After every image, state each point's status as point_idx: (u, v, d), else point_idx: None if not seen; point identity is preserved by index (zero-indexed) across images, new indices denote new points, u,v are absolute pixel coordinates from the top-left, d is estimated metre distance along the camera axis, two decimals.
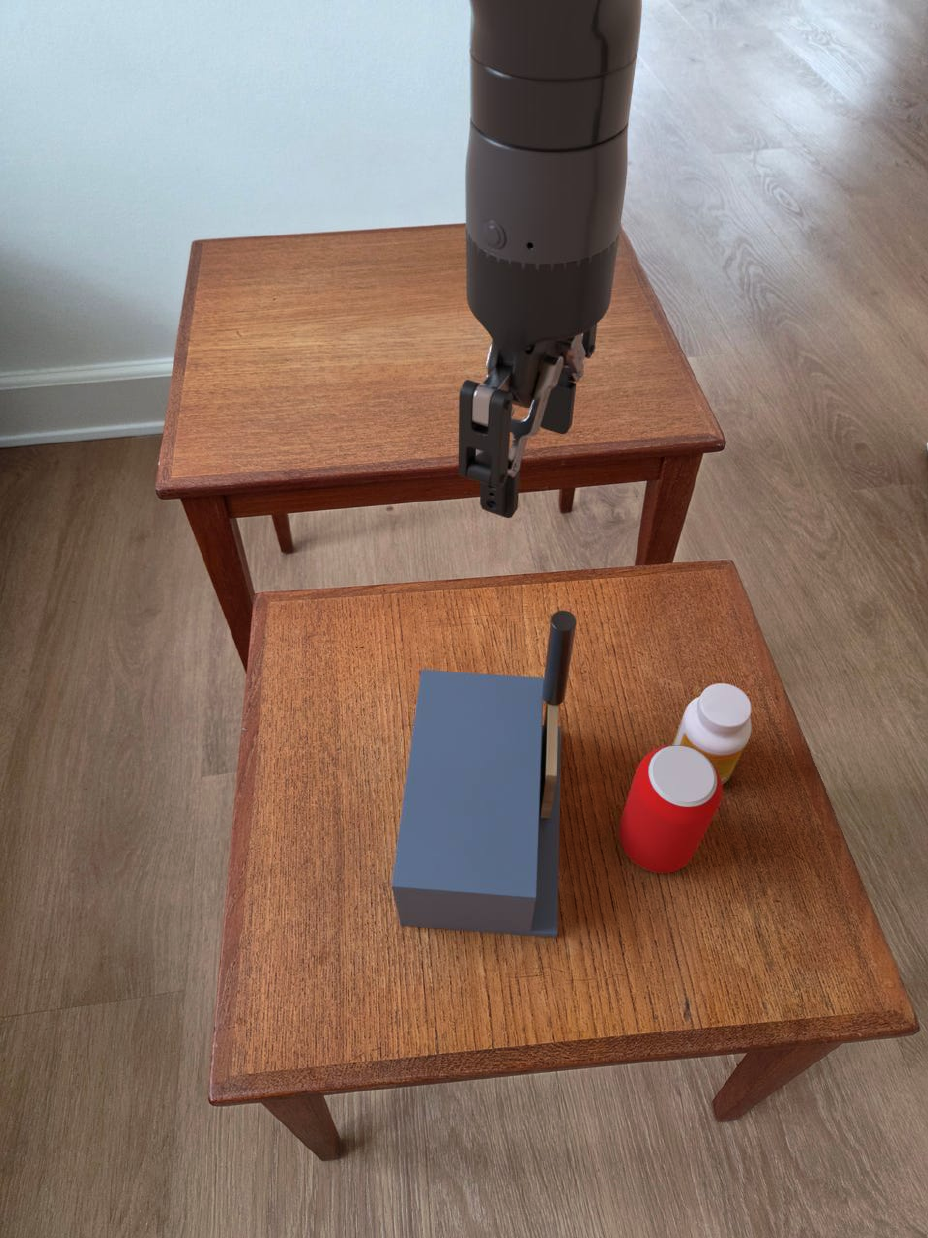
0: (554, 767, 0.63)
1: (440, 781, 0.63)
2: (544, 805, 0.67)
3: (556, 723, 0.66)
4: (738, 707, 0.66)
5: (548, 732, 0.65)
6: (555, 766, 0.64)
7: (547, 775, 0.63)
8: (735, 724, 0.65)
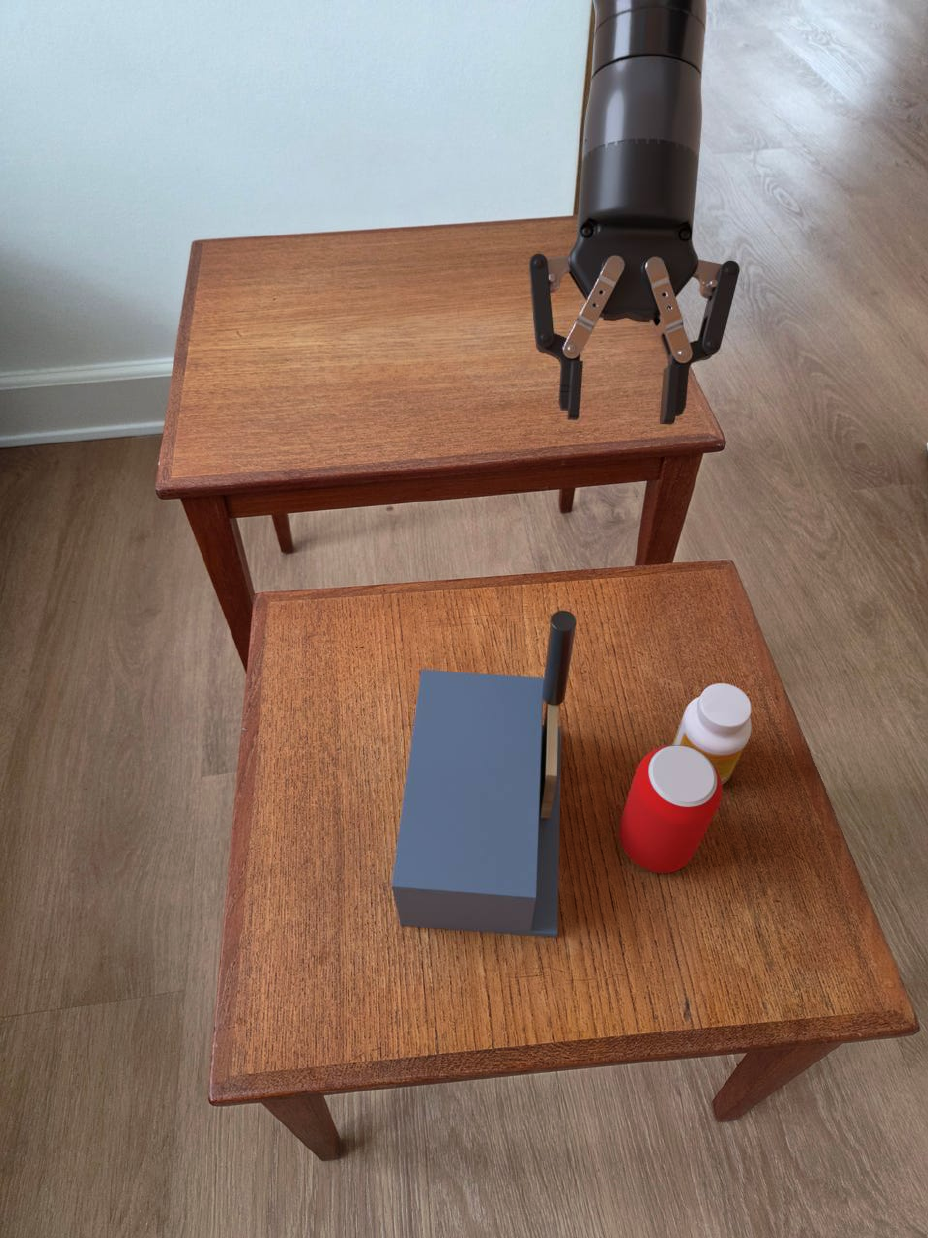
0: (554, 767, 0.63)
1: (440, 781, 0.63)
2: (544, 805, 0.67)
3: (556, 723, 0.66)
4: (738, 707, 0.66)
5: (548, 732, 0.65)
6: (555, 766, 0.64)
7: (547, 775, 0.63)
8: (735, 724, 0.65)
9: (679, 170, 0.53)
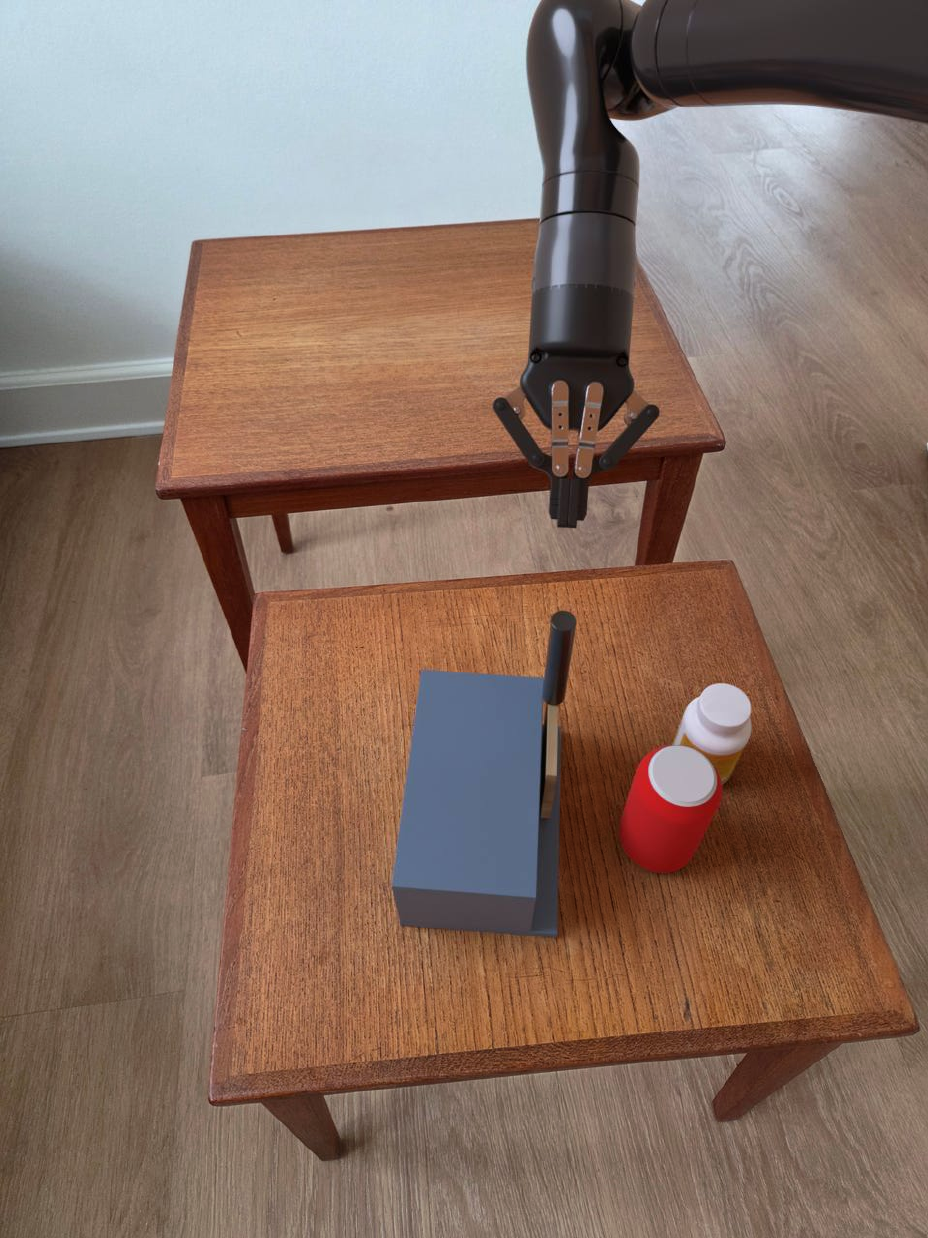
0: (554, 767, 0.63)
1: (440, 781, 0.63)
2: (544, 805, 0.67)
3: (556, 723, 0.66)
4: (738, 707, 0.66)
5: (548, 732, 0.65)
6: (555, 766, 0.64)
7: (547, 775, 0.63)
8: (735, 724, 0.65)
9: (614, 310, 0.60)
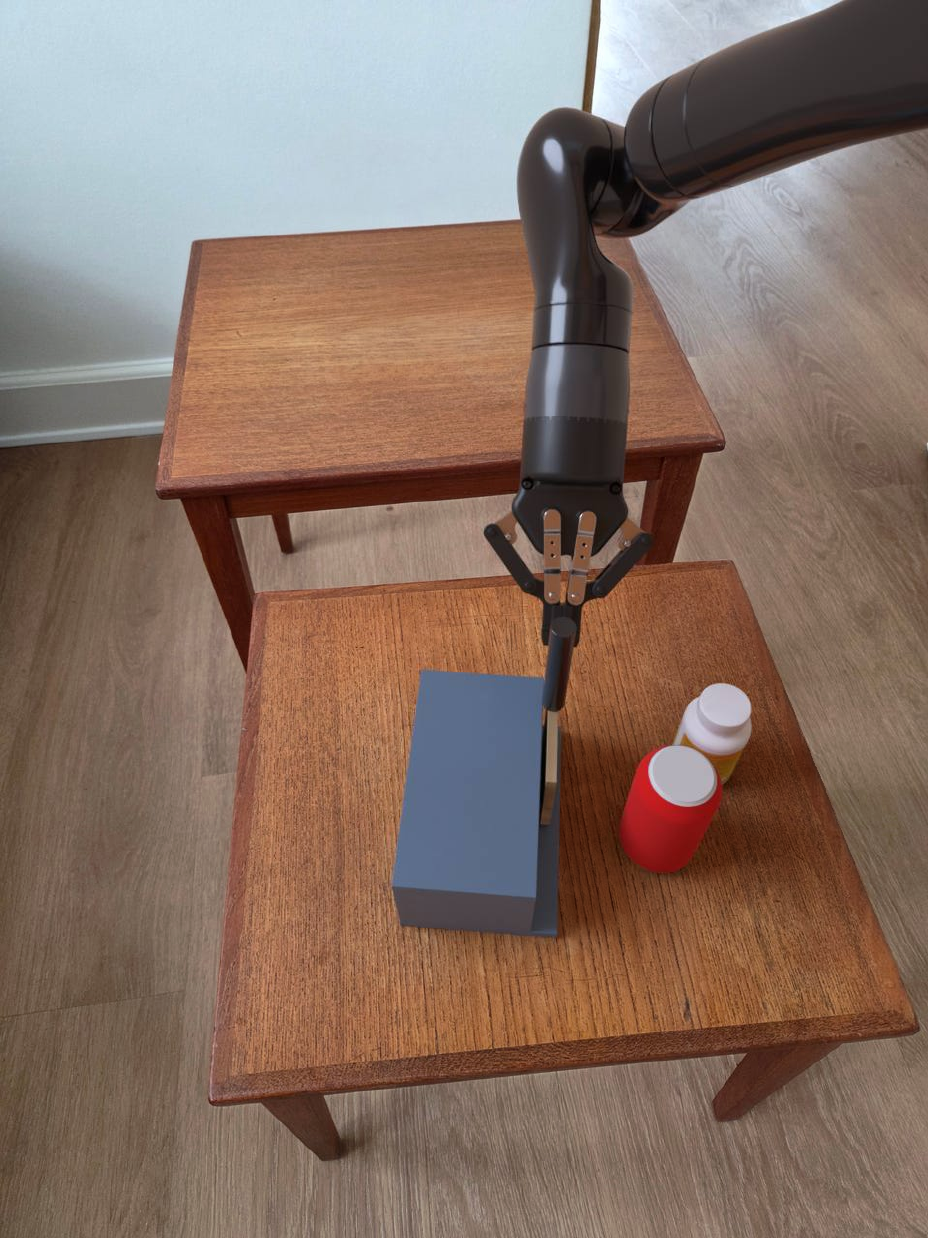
0: (554, 774, 0.63)
1: (440, 781, 0.63)
2: (544, 811, 0.67)
3: (556, 729, 0.65)
4: (738, 707, 0.66)
5: (548, 738, 0.65)
6: (555, 773, 0.63)
7: (547, 782, 0.63)
8: (735, 724, 0.65)
9: (607, 441, 0.59)
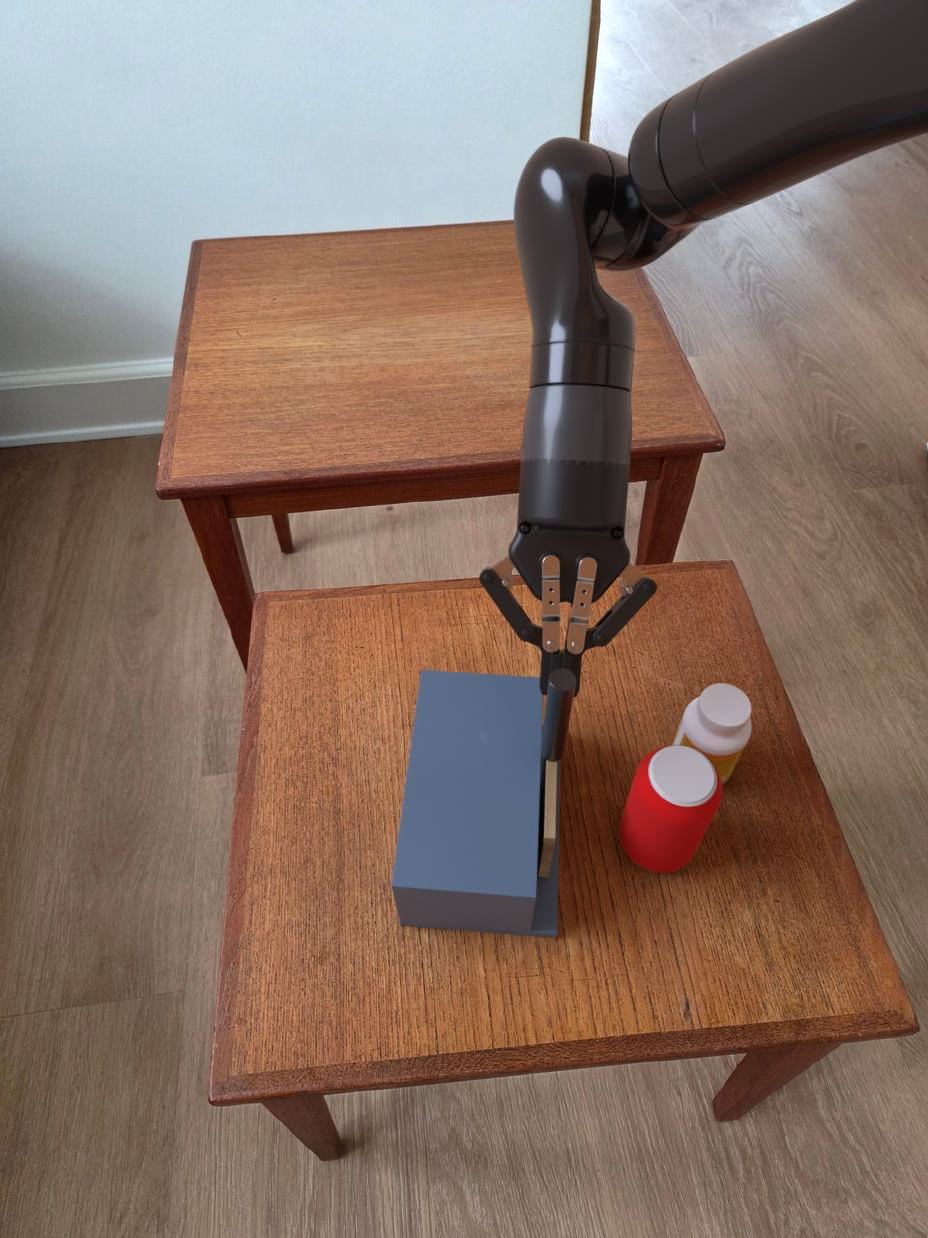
0: (553, 830, 0.61)
1: (440, 781, 0.63)
2: (543, 865, 0.64)
3: (555, 781, 0.63)
4: (738, 707, 0.66)
5: (546, 791, 0.62)
6: (554, 828, 0.61)
7: (545, 838, 0.60)
8: (735, 724, 0.65)
9: (608, 486, 0.56)
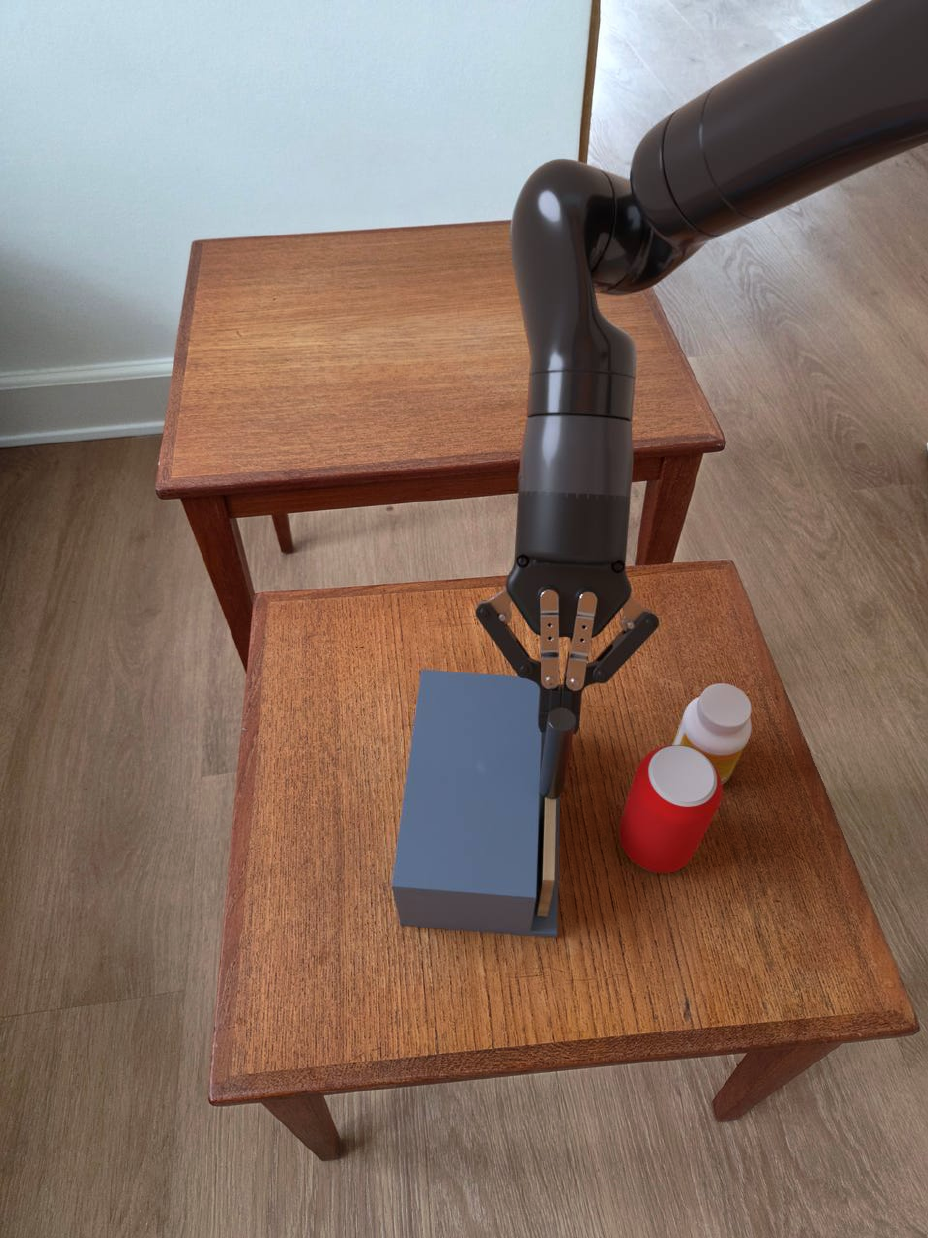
0: (552, 871, 0.59)
1: (440, 781, 0.63)
2: (542, 905, 0.63)
3: (554, 819, 0.61)
4: (738, 707, 0.66)
5: (545, 830, 0.61)
6: (553, 869, 0.59)
7: (544, 880, 0.58)
8: (735, 724, 0.65)
9: (609, 519, 0.54)
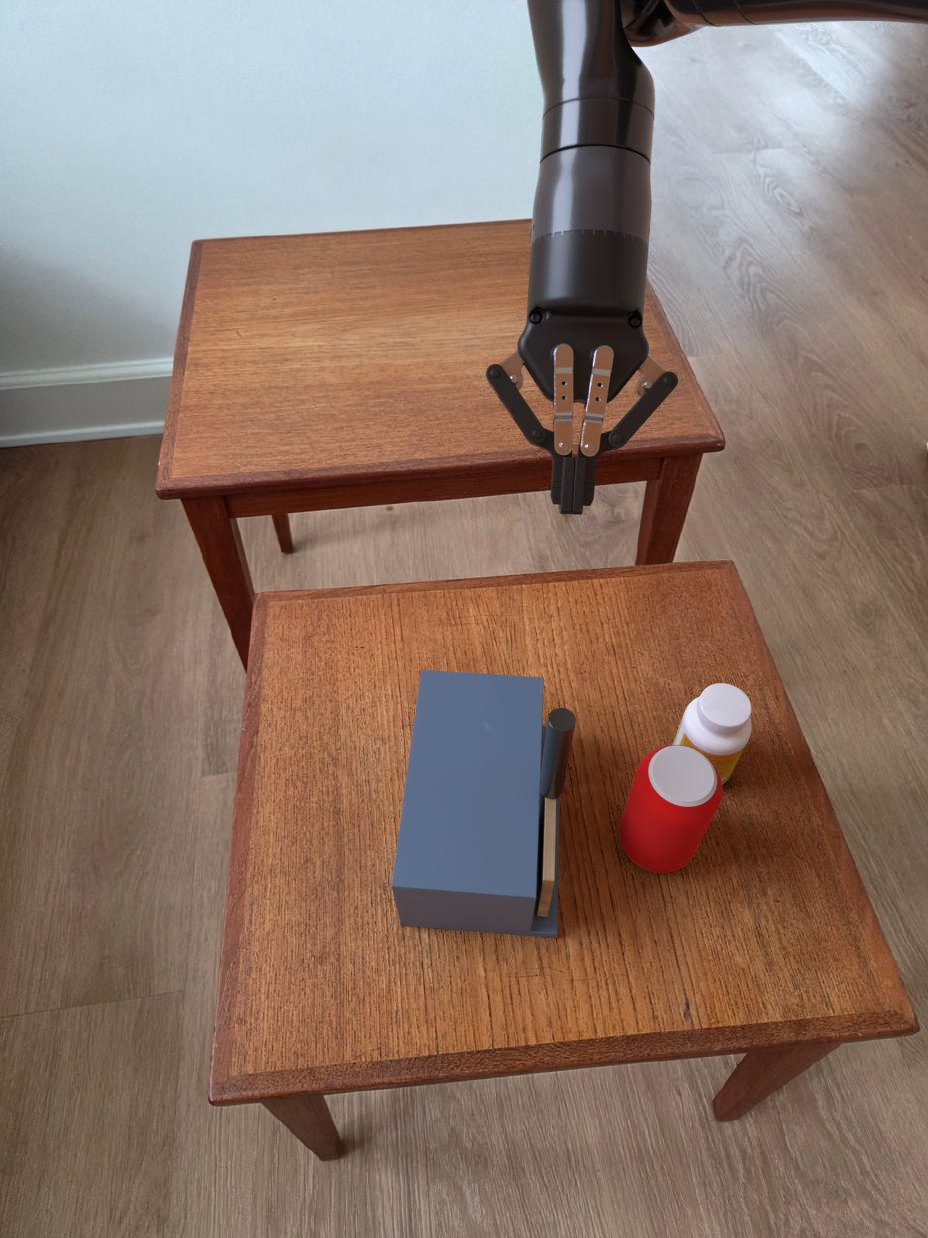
0: (552, 871, 0.59)
1: (440, 781, 0.63)
2: (542, 905, 0.63)
3: (554, 819, 0.61)
4: (738, 707, 0.66)
5: (545, 830, 0.61)
6: (553, 870, 0.59)
7: (544, 880, 0.58)
8: (735, 724, 0.65)
9: (627, 260, 0.52)
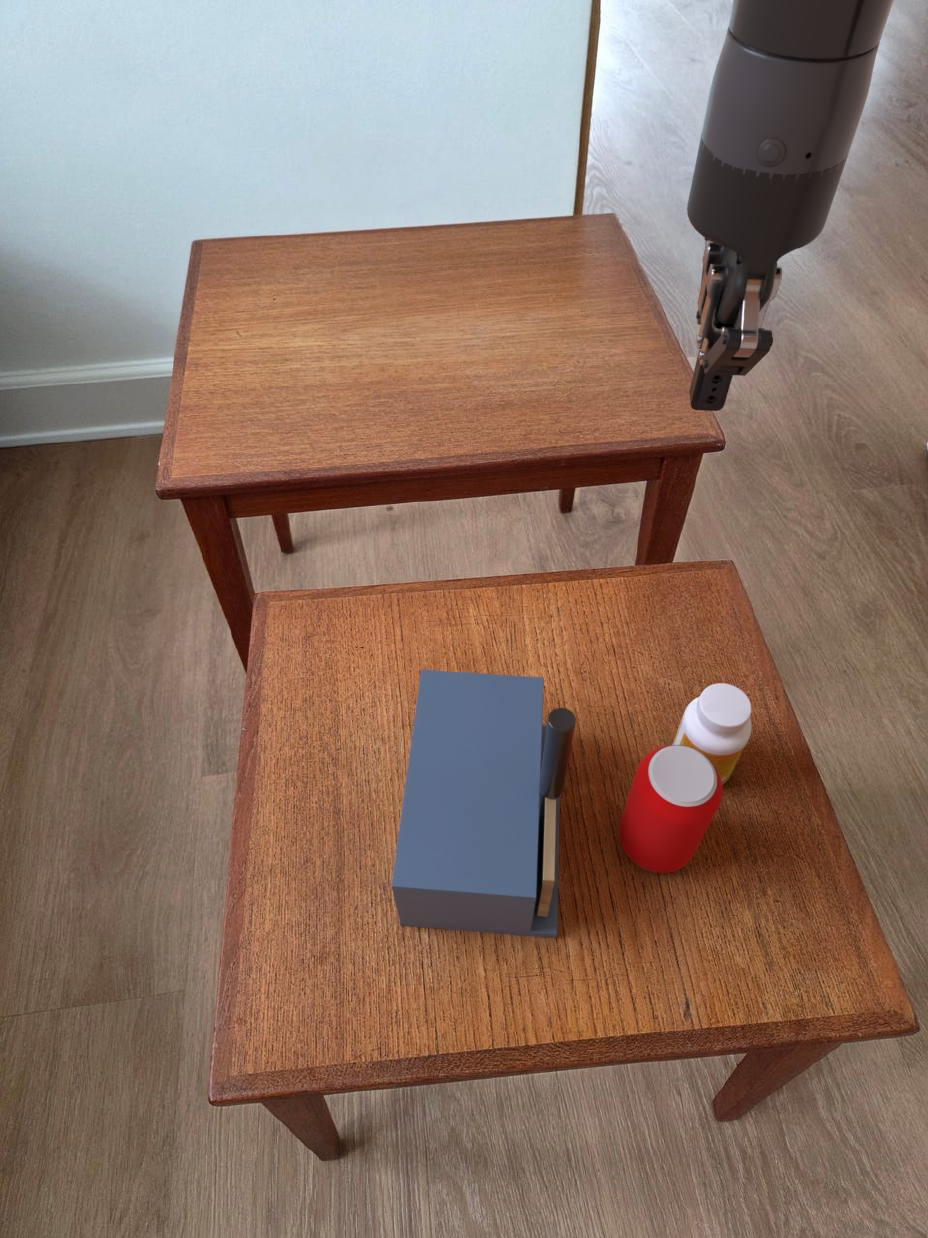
0: (552, 871, 0.59)
1: (440, 781, 0.63)
2: (542, 905, 0.63)
3: (554, 819, 0.61)
4: (738, 707, 0.66)
5: (545, 830, 0.61)
6: (553, 870, 0.59)
7: (544, 880, 0.58)
8: (735, 724, 0.65)
9: None
